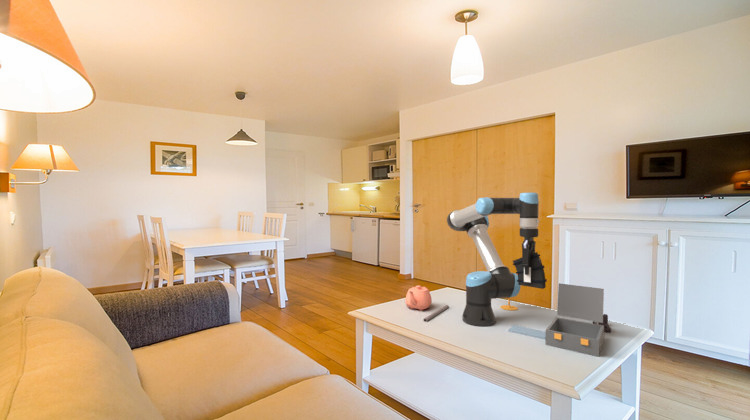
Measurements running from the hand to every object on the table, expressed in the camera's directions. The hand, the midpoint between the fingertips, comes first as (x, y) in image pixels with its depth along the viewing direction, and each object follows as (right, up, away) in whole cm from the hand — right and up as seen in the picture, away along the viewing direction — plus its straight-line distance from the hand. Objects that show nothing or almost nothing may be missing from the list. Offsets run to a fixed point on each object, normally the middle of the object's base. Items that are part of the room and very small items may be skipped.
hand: (528, 280), depth 151 cm
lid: (+21, -9, -2) cm, 23 cm away
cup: (+6, -23, +37) cm, 43 cm away
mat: (0, -23, 0) cm, 23 cm away
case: (+15, -23, -9) cm, 29 cm away
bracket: (+36, -23, +6) cm, 43 cm away
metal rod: (-36, -23, +26) cm, 50 cm away
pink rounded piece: (-44, -23, +37) cm, 62 cm away
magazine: (0, -2, 0) cm, 2 cm away
